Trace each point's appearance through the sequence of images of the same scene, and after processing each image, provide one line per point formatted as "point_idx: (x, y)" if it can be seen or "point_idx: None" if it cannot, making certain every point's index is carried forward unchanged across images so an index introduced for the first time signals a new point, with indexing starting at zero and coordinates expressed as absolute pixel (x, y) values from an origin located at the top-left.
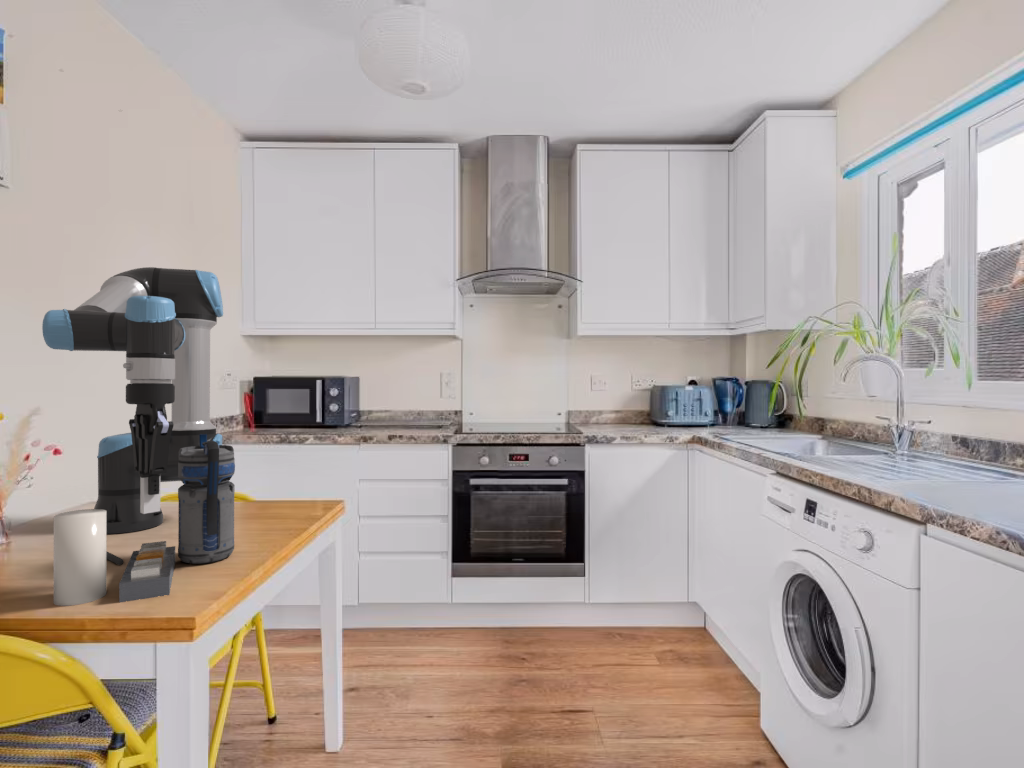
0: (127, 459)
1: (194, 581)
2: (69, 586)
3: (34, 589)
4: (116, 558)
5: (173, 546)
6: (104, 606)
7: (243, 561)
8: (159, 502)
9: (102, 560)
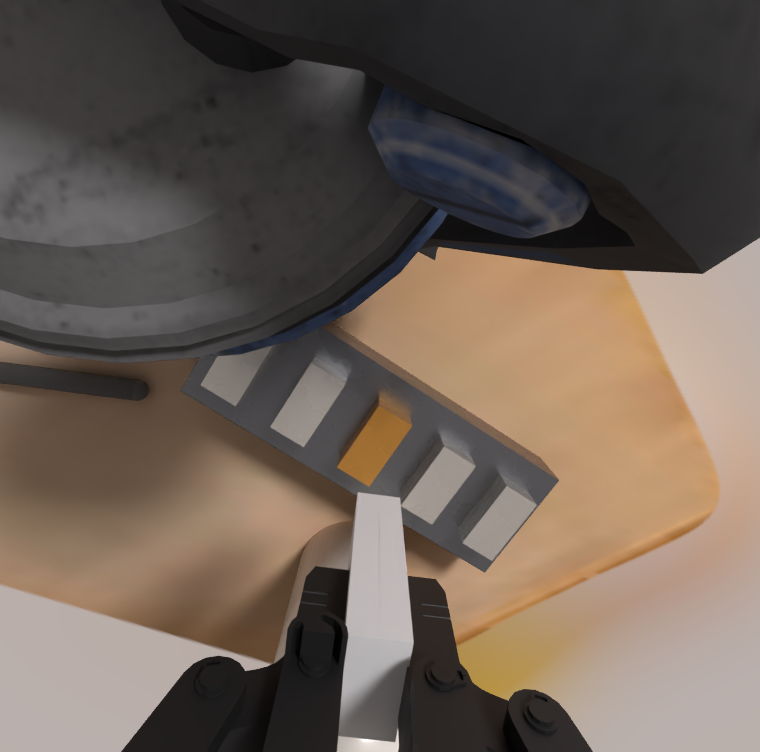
0: None
1: (505, 363)
2: None
3: (186, 595)
4: (117, 395)
5: None
6: (467, 569)
7: None
8: (402, 526)
9: None
